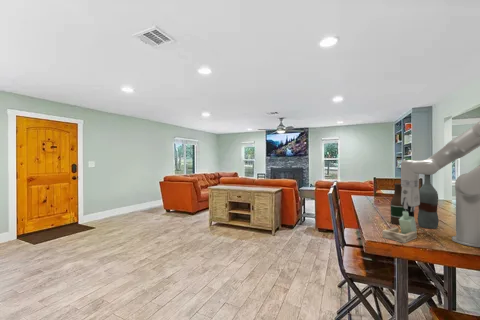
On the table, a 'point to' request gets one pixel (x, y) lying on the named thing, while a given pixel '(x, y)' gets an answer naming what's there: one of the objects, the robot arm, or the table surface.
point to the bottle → (407, 223)
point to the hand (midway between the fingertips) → (409, 219)
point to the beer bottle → (396, 205)
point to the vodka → (428, 205)
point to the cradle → (399, 235)
